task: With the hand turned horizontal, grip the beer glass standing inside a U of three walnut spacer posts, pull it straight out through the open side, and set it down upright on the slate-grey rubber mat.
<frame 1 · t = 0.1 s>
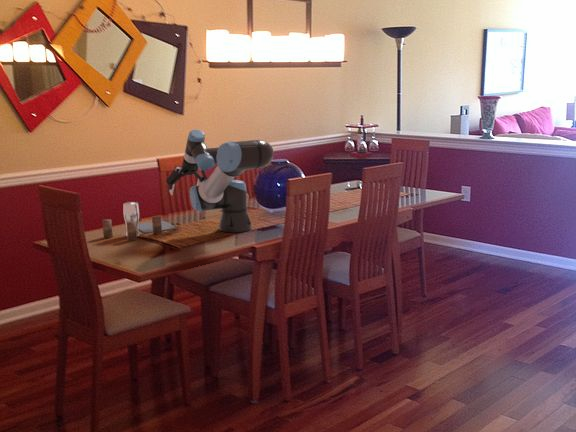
hand: (184, 191, 344), 15 cm above the table, tool tilted 35°, fingers open, 13 cm apart
teacup with lid: (240, 207, 382), on the table
beer glass: (133, 236, 322), on the table
walnut spacer posts: (133, 235, 322), on the table
slate mat: (154, 227, 338), on the table
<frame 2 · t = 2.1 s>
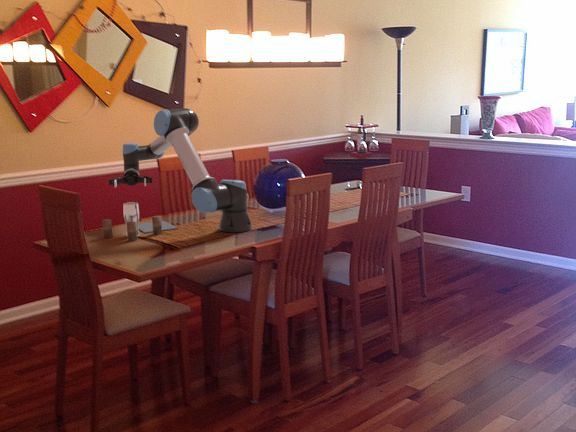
hand: (130, 183, 327), 22 cm above the table, tool horizontal, fingers open, 13 cm apart
nothing on the table moved.
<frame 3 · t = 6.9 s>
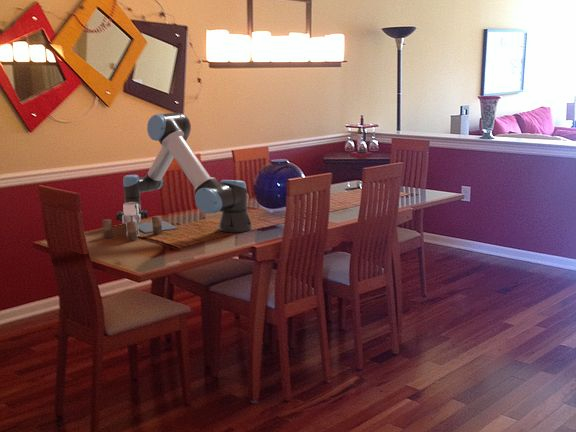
hand: (131, 219, 315), 8 cm above the table, tool horizontal, fingers closed on beer glass, 7 cm apart
beer glass: (133, 236, 322), on the table, touching gripper
everything else where it was.
when the fingers open (10 cm above the table, at t = 13.5 s): beer glass drops 1 cm, resting on slate mat.
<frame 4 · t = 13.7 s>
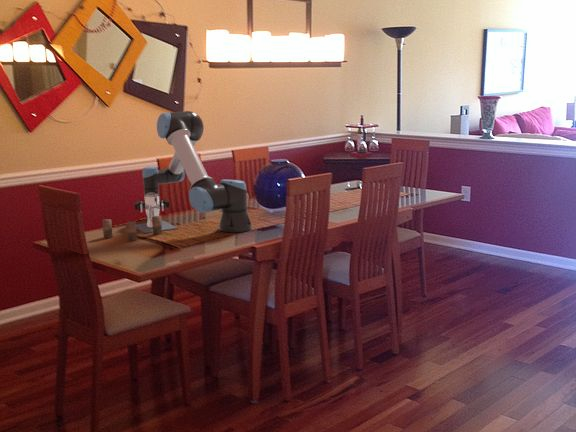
hand: (152, 208, 330), 10 cm above the table, tool horizontal, fingers open, 9 cm apart
beer glass: (153, 227, 337), resting on slate mat
everything else where it was.
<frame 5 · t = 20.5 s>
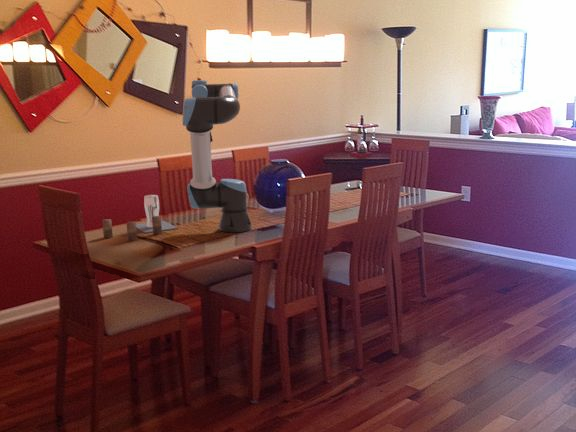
hand: (203, 154, 353), 32 cm above the table, tool pointing down, fingers open, 13 cm apart
nothing on the table moved.
at the end: beer glass inside the target area on the slate mat (1.3 cm from its centre), point 0.4 cm above the slate mat's base; beer glass tilted 0°; the gripper is holding nothing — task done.
